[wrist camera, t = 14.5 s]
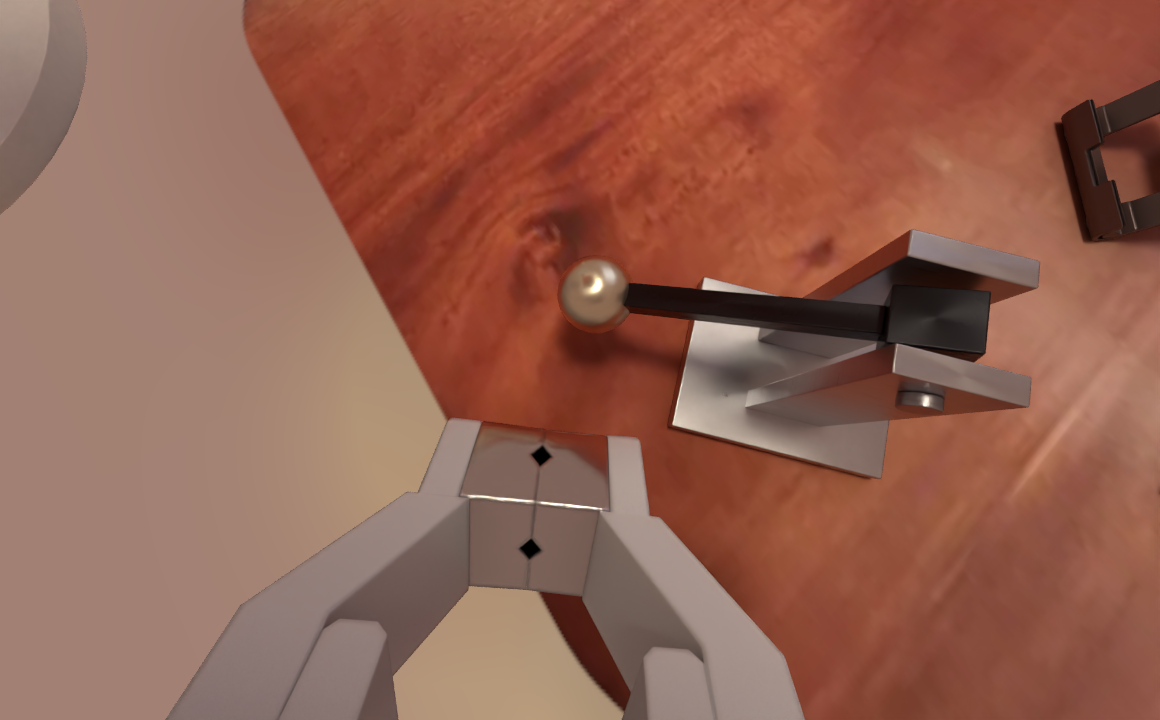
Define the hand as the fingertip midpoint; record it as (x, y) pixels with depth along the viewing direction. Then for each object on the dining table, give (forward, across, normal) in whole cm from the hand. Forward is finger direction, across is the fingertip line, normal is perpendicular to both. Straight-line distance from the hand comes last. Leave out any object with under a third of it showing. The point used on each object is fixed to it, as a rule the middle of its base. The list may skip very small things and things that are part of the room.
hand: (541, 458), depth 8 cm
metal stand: (+19, -13, +9) cm, 25 cm away
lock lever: (+14, -8, +3) cm, 16 cm away
